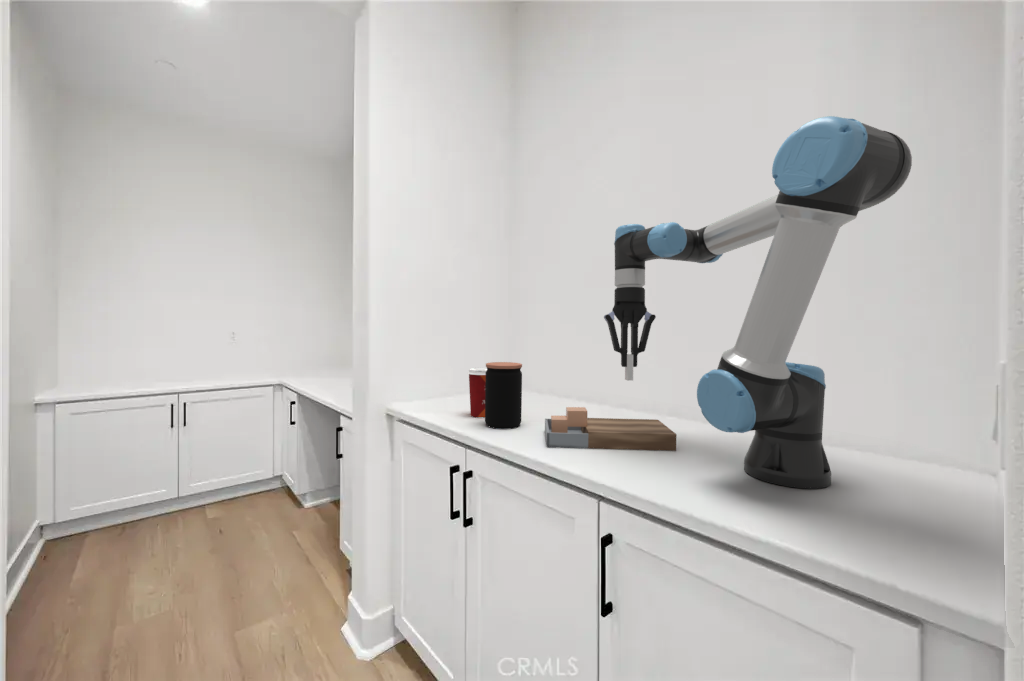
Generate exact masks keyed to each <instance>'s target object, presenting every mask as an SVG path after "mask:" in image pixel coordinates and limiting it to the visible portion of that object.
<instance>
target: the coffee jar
mask: <svg viewBox="0 0 1024 681" xmlns="http://www.w3.org/2000/svg"><path fill="white" fill-rule="evenodd" d="M522 367H523V364H522V363H521V362H512V361H511V362H510V361H496V362H495V361H494V362H493V361H491V362H486V363H485V368H487V371H486V380H485V418H484V423H485V424H486V425H488V426H490V427H489V428H491V427H494V428H493V429H496V428H511V429H514V427H516V428H518V427H519V426H520V425H521V423H522V403H523V402H522V399H523V398H522V397H523V395H522V394H523V393H522V392H523V373H522V371H521V369H522ZM488 426H487V427H488ZM517 426H518V427H517Z"/></svg>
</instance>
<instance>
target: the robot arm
mask: <svg viewBox="0 0 1024 681" xmlns="http://www.w3.org/2000/svg"><path fill="white" fill-rule="evenodd" d="M912 158H913V157H912V153H911V150H910V147H909V146H908V143H907V142H906V141H904V139H903V138H901V137H900V136H898V135H897V134H895V133H893V132H890V131H886V130H882V129H879V128H876V127H874V126H871V125H869V124H866V123H863V122H861V121H859V120H857V119H855V118H847V117H846V118H845V117H839V116H835V115H833V116H832V115H831V116H829V115H828V116H822V117H818V118H814V119H813V120H810V121H807V122H806V123H804V124H803V125H801V126H800V127H799V128H797V129H796V130H795V131H793V132H792V133H791V134H790V135H789V136H788V137H786V139H785V140H784V141H783V143H782V144H781V146H780V147H779V149H778V150H777V152H776V155H775V157H774V159H773V163H772V168H771V174H772V175H771V176H772V178H773V179H774V185H775V187H777V189H778V190H779V191H778V193H777V194H775V195H774V196H771V197H770V198H767V199H765V200H762V201H760V202H758V203H755V204H753V205H751V206H749V207H747V208H745V209H742V210H740V211H738V212H735V213H733V214H731V215H728V216H726V217H724V218H722V219H719V220H718V221H716V222H713V223H711V224H709V225H706V226H704V227H701V228H699V229H690V228H689V229H688V228H684V227H683V226H681V225H680V223H677V222H676V221H675V222H674V221H672V222H671V221H670V222H665V223H664V222H663V223H660V224H657V225H655V226H651V227H647V228H646V227H645V226H644V225H643V224H638V223H627V224H623V225H620V226H618V227H617V228H616V230H615V232H614V233H615V234H614V242H613V245H614V287H615V289H614V302H613V303H614V305H613V307H612V311H610V312H609V313H607V314H605V315H604V316H603V320H604V321H605V322H606V323H607V327H608V331H609V335H610V340H611V344H612V347H613V351H614V352H617V353H619V354H620V365H621V367H623V368H624V380H625V381H634V368H637V367H638V355H639V354H640V353H643V352H645V351H646V347H647V344H648V339H649V335H650V332H651V328H652V324H653V323H654V321H655V319H656V317H657V316H656V314H652V313H650V312H649V311H648V309H647V307H646V289H645V287H644V286H645V285H646V262H648V261H652V260H654V261H655V260H669V261H682V262H691V263H698V264H708V263H709V264H711V263H715V262H717V261H718V260H719V259H721V257H723V255H724V254H726V253H729V252H731V251H734V250H738V249H740V248H742V247H747V246H749V245H751V244H754V243H756V242H757V243H758V242H759V241H762V240H764V239H767V238H770V237H773V238H772V241H771V244H770V246H769V250H768V251H767V254H766V258H765V260H764V263H763V266H762V268H761V271H760V274H759V277H758V279H757V283H756V286H755V287H754V291H753V293H752V297H751V300H750V303H749V305H748V308H747V311H746V314H745V317H744V319H743V322H742V324H741V327H740V329H739V330H740V331H739V333H738V337H737V339H736V342H735V344H734V347H732V348H730V349H727V350H725V351H723V353H722V354H721V357H720V360H719V362H718V366H717V369H711V370H709V371H708V372H707V373H704V374H703V375H702V376H701V378H700V379H699V381H698V383H697V384H698V385H697V388H696V398H697V404H698V406H699V407H700V411H701V414H702V416H703V418H705V419H706V421H707V422H708V423H709V424H710V425H711V426H712V427H713V428H715V429H717V430H719V431H721V432H725V433H737V434H738V433H740V434H744V433H748V432H750V431H754V434H753V435H754V436H753V438H752V441H751V443H750V445H749V447H748V450H747V452H746V454H745V456H744V460H743V461H744V463H743V464H744V465H743V470H744V472H746V474H748V475H749V476H751V477H753V478H756V479H758V480H760V481H764V482H766V483H770V484H774V485H779V486H784V487H789V488H796V489H808V490H809V489H810V490H811V489H813V490H814V489H823V488H827V487H829V486H831V484H832V470H831V467H830V464H829V463H830V462H829V461H828V457H827V454H826V451H825V448H824V445H823V430H824V429H823V428H824V409H825V396H826V395H825V392H826V388H827V385H826V381H825V380H826V379H825V371H824V370H823V368H821V367H820V366H816V365H811V364H805V363H804V364H803V363H795V362H787V359H788V358H789V357H788V356H789V353H790V351H791V349H792V346H793V344H794V342H795V339H796V336H797V335H798V333H799V329H800V327H801V325H802V322H803V319H804V317H805V315H806V312H807V310H808V307H809V305H810V303H811V300H812V298H813V295H814V293H815V290H816V287H817V285H818V282H819V280H820V277H821V276H822V273H823V271H824V268H825V266H826V262H827V260H828V257H829V256H830V253H831V251H832V248H833V246H834V243H835V241H836V237H837V236H838V233H839V231H840V229H841V227H842V226H845V225H846V224H848V223H850V222H851V221H853V220H855V219H857V216H858V214H859V212H860V211H863V210H867V209H869V208H872V207H874V206H877V205H879V204H881V203H883V202H885V201H886V200H888V199H890V198H891V197H893V196H894V195H895V194H896V193H897V192H898V191H899V190H900V189H901V188H902V187H903V185H904V184H905V182H907V180H908V178H909V175H910V173H911V169H912V165H913V164H912V163H913V162H912V161H913V160H912ZM615 317H616V319H617V321H619V323H620V342H619V338H618V333H617V328H616V324H615V322H614V320H615ZM643 317H644V322H643V326H642V332H641V335H640V340H639V323H640V321H641V320H642V319H643ZM629 324H630V353H628V352H629V350H628V349H629V348H628V346H629V345H628V344H629V343H628V342H629V341H628V340H629V339H628V337H629V335H628V334H629V333H628V331H629V330H628V329H629Z"/></svg>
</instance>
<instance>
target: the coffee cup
mask: <svg viewBox="0 0 1024 681" xmlns="http://www.w3.org/2000/svg"><path fill="white" fill-rule="evenodd" d="M486 371H487V367H475V368H474V367H472V368H469V370H468V372H467V374H468V385H469V388H468V389H469V404H470V406H469V408H470V417H472V416H473V417H472V418H476V417H485V380H486Z"/></svg>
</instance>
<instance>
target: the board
mask: <svg viewBox="0 0 1024 681" xmlns="http://www.w3.org/2000/svg"><path fill="white" fill-rule="evenodd" d="M581 431H582V433H588V448H587V449H593V450H594V449H597V450H599V449H601V450H602V449H603V450H637V451H639V450H640V451H641V450H642V451H670V452H671V451H672V452H673V451H674V452H676V451H677V433H676V432H674V431H673V430H672V429H671V428H669V427H668V426H667V425H665V424H664V423H663V422H662V421H660V419H650V418H649V419H647V418H645V419H644V418H611V417H610V418H609V417H608V418H607V417H604V418H603V417H587V427H581Z"/></svg>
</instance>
